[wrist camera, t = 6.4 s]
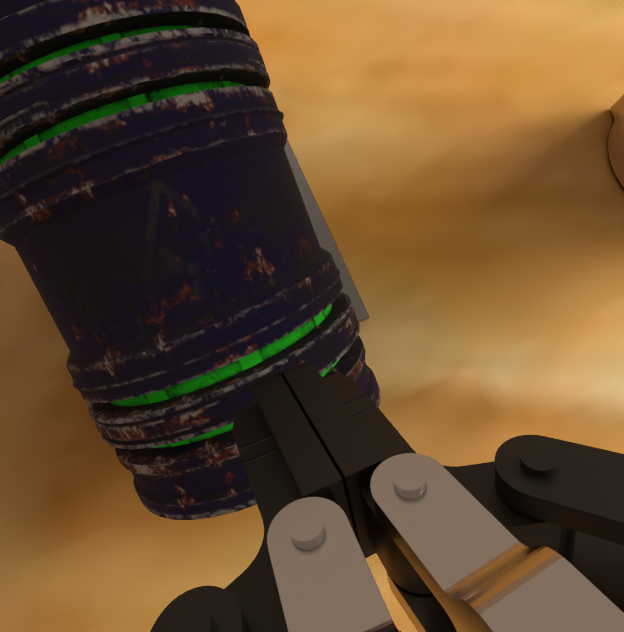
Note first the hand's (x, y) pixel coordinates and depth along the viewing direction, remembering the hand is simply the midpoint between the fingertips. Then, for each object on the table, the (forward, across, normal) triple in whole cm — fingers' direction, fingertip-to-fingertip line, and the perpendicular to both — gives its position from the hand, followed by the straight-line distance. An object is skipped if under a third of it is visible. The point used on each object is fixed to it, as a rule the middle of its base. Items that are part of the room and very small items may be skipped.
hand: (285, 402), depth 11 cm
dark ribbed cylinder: (+6, 0, +5) cm, 8 cm away
